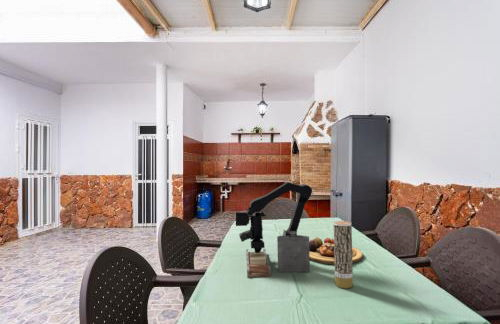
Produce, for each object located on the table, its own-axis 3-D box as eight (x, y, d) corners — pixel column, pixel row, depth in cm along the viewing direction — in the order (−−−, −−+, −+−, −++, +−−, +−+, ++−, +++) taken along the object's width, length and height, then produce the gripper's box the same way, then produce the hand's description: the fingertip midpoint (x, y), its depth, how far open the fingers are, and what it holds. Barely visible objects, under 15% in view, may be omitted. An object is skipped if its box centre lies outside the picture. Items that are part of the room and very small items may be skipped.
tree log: (338, 280, 114) (337, 220, 114) (355, 284, 110) (353, 222, 110) (332, 286, 109) (330, 223, 109) (349, 290, 105) (347, 225, 105)
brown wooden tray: (246, 254, 149) (246, 247, 149) (265, 253, 149) (265, 246, 149) (247, 277, 119) (247, 268, 119) (271, 276, 119) (270, 268, 119)
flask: (278, 269, 127) (277, 230, 127) (309, 269, 126) (308, 230, 126) (278, 272, 124) (277, 232, 124) (310, 272, 122) (309, 232, 122)
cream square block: (250, 263, 132) (249, 252, 132) (264, 262, 132) (264, 252, 132) (250, 268, 125) (250, 258, 125) (266, 268, 125) (265, 257, 125)
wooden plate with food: (369, 268, 127) (369, 250, 127) (299, 263, 134) (299, 246, 134) (357, 248, 158) (357, 233, 158) (301, 245, 165) (301, 231, 165)
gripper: (240, 221, 143) (240, 251, 143) (239, 230, 124) (240, 264, 124) (261, 221, 143) (262, 250, 143) (264, 229, 125) (265, 264, 125)
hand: (257, 257), depth 134 cm, fingers closed
